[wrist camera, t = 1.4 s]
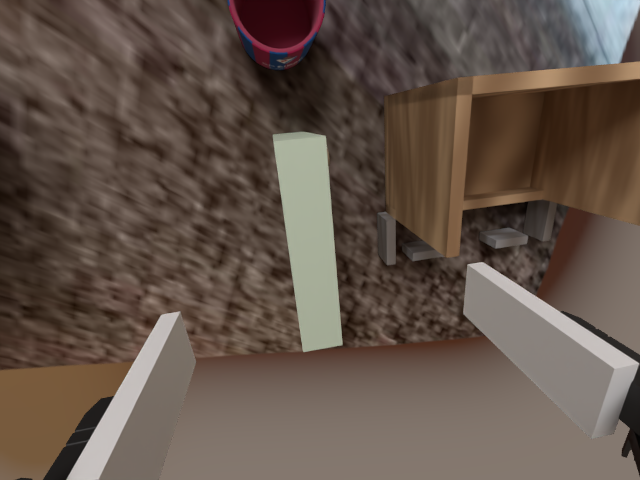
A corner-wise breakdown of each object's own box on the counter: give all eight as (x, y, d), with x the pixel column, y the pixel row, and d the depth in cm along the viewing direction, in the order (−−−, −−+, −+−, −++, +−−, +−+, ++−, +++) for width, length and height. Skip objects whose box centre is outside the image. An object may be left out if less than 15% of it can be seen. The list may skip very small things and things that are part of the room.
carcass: (378, 254, 37) (430, 317, 25) (374, 97, 30) (442, 79, 18) (530, 231, 39) (647, 280, 27) (555, 80, 32) (723, 54, 20)
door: (326, 264, 36) (358, 342, 23) (291, 269, 36) (303, 352, 23) (314, 130, 31) (346, 133, 18) (272, 134, 30) (273, 141, 17)
